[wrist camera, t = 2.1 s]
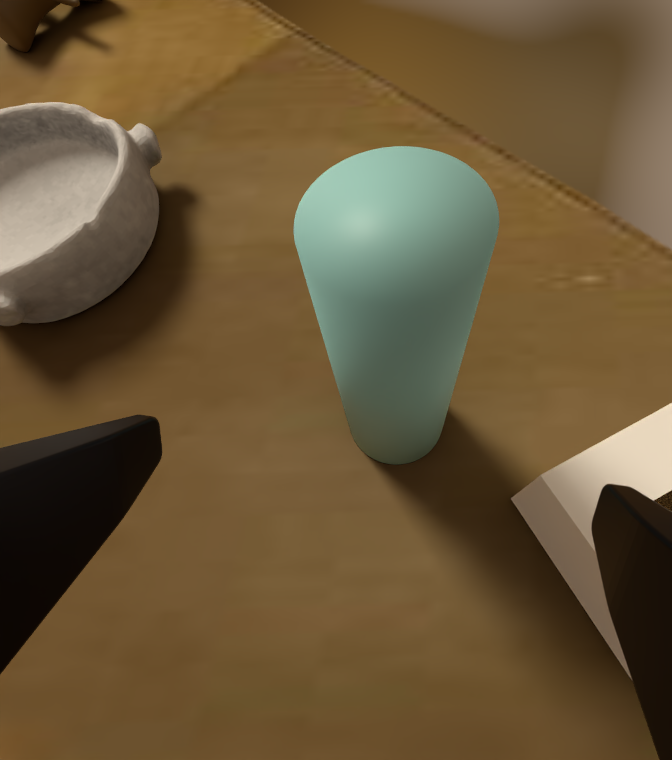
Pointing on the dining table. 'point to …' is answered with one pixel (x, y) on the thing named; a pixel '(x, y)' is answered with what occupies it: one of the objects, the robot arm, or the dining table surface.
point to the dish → (70, 209)
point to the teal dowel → (396, 287)
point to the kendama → (25, 19)
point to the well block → (579, 500)
